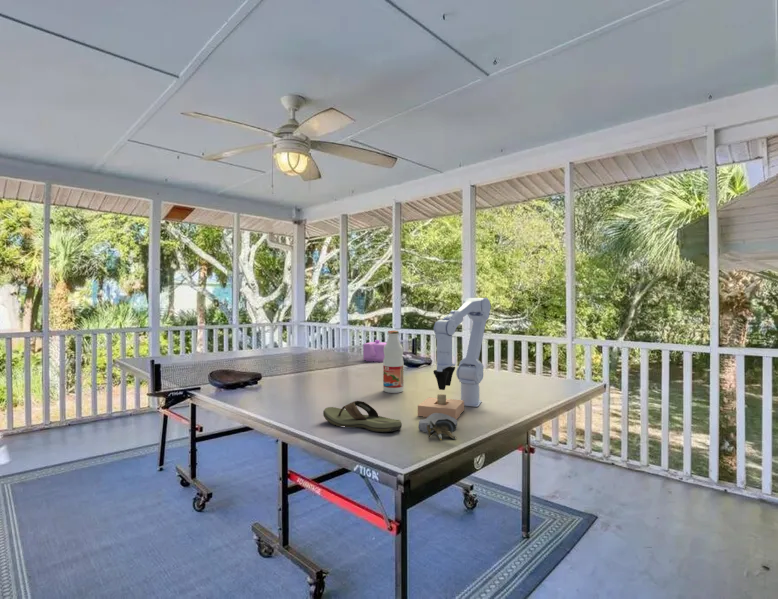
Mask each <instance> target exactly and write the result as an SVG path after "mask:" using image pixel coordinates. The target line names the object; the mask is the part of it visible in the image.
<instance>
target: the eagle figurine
mask: <svg viewBox="0 0 778 599" xmlns="http://www.w3.org/2000/svg"><path fill="white" fill-rule="evenodd" d="M429 423H430V425H431V426H432V427H433V428H430V425H427V431H428V432H427V433H428V439H429V438H431V437H432V436H433V435H437V437H438V438H439V441H440V440H441V441H442V439H443V436H442V434H443V435H446V436H448V437H450V438H451V439H453V440H456V439H455V437H456V436H455V435H453V434H452V432H453V433H454V432H455V431H456V430H457V426H456V425H455V423H453V422H452V421H451V420H448V419H442V420H437V421H436V422H435V424H434V423H433V422H432V421H429ZM432 430H434V431H433V432H431V431H432ZM435 433H436V434H435Z"/></svg>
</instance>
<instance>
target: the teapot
mask: <svg viewBox="0 0 778 599" xmlns="http://www.w3.org/2000/svg"><path fill="white" fill-rule="evenodd" d="M386 343H387V342H382V341H380V339H374V341H370V342H366V343H363V344H362V345H363V346H362V348H363V350H362V352H363V357H362V358H363V360H366V361H365V362H373V361H374V362H375V363H383V361H384V357H385V355H384V347H385V345H386ZM374 362H373V363H374Z"/></svg>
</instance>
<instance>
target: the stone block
mask: <svg viewBox="0 0 778 599" xmlns="http://www.w3.org/2000/svg"><path fill="white" fill-rule="evenodd" d="M442 419H448V420H451V421H452V422H453V423H455V425H456V427H457V426H458V422H457V421H458V420H457V419H455V418H453V417H451V416H448V415H446V414H442V413H433V414H431V415H430V416H428V417H425V419H420V420H419V421H418V430H419V431H420V432H423V431H424V432H423V433H428V431H427V425H430V423H429V421H432V422H433V423H434V424H435V422H436V421H437V420H442ZM430 428H433V427H432V426H431V425H430ZM433 431H434V430H432V431H431V432H433ZM434 435H437V434H436V433H435V434H434Z"/></svg>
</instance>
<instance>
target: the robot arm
mask: <svg viewBox="0 0 778 599" xmlns="http://www.w3.org/2000/svg"><path fill="white" fill-rule="evenodd" d="M462 303H463V304H462V305H460V307H459V308H458V309H457V310H456V309H455V310H450V313H448V314H446V316H444V317H443V318H442V319H438V320H436V321H435V322H434V325H433V332H434V334H435V339H436V369H434V370H433V375H434V376H435V379H436V382H437V387H438V390H440V391H445V390H446V387H449V386H451V385H452V384H451V383H452V379H453V374H454V372H455V371H456V374H455V375H456V378H457V380H459V383H460V400H464V407H475V408H476V407H479V406H480V405H481V403H482V400H480V384H481V382H482V381H483V380H484V364H483V363H482V362H481V361H480V360H479V359H480V354H481V350H482V345H483V340H484V335H485V334H484V333H485V329H486V324H487V320H488V319H489V318H490V313H491V308H492V306H491V301H490V300H489V298H488V297H466V298H465V299H464V300H463V302H462ZM465 316H467V317H468V318H469V319H471V320H472V326H471V332H470V336H469V342H468V346H467V351H466V355H465V357H464V358H463V359H461V360H460V361H459V365H458V367H457V368H456V362H453V335H455V332H456V329H458V328H457V327H458V326H459V325H460V324H462V323H463V321H464V317H465Z"/></svg>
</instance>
